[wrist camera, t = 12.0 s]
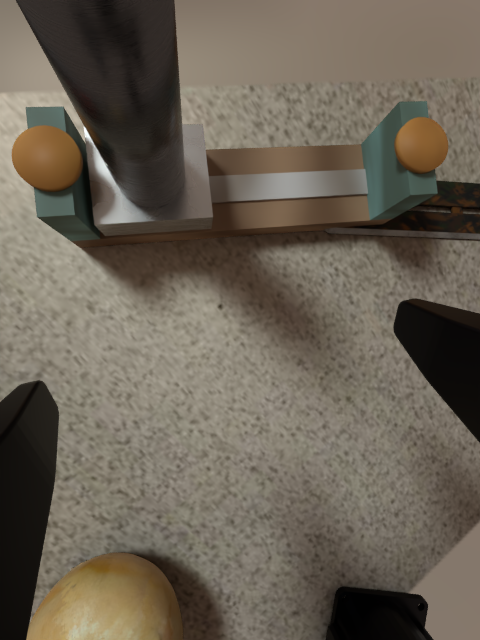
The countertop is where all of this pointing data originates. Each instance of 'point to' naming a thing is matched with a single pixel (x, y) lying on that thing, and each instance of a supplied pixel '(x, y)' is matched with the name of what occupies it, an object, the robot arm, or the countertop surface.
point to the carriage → (128, 111)
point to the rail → (250, 180)
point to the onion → (109, 603)
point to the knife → (432, 216)
